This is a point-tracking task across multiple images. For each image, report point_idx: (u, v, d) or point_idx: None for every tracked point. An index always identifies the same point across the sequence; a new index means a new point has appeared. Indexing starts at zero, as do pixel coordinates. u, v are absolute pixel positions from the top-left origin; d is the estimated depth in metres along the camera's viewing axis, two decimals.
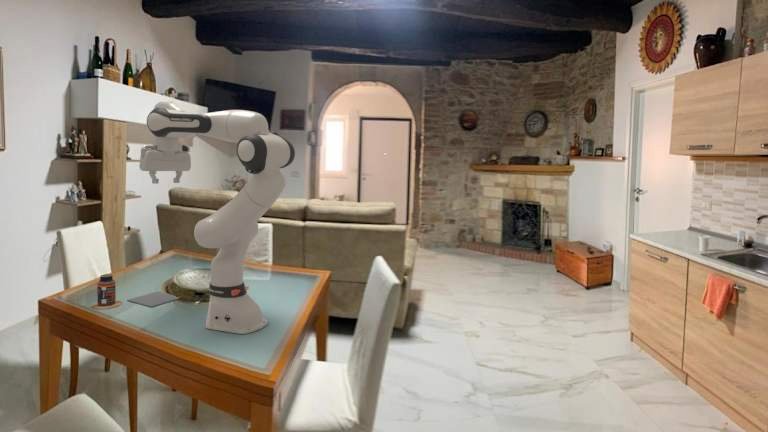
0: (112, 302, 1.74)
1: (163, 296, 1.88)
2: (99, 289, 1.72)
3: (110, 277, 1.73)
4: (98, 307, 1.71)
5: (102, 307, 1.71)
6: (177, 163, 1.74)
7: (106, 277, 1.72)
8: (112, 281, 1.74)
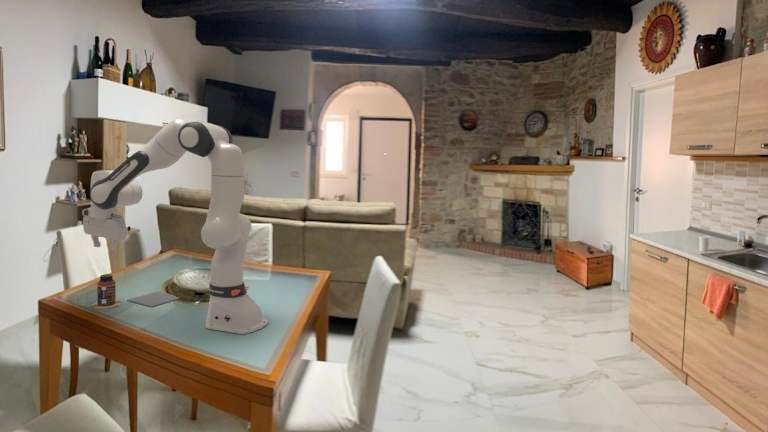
0: (112, 302, 1.74)
1: (163, 296, 1.88)
2: (99, 289, 1.72)
3: (110, 277, 1.73)
4: (98, 307, 1.71)
5: (102, 307, 1.71)
6: None
7: (106, 277, 1.72)
8: (112, 281, 1.74)
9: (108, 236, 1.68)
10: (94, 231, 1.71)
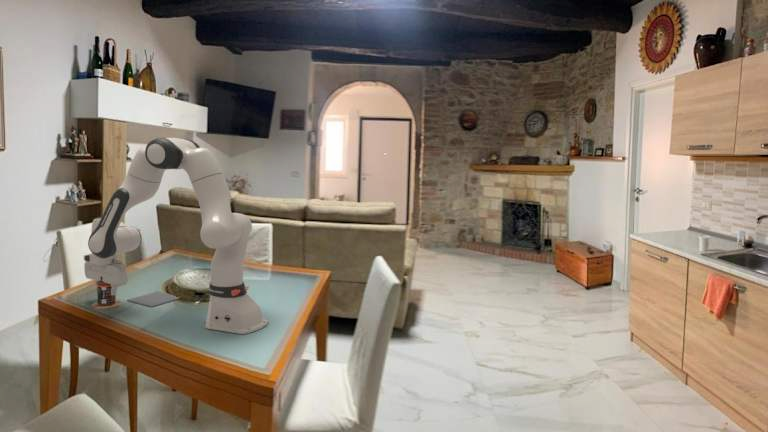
0: (112, 302, 1.74)
1: (163, 296, 1.88)
2: (99, 289, 1.72)
3: None
4: (98, 307, 1.71)
5: (102, 307, 1.71)
6: None
7: None
8: None
9: (109, 282, 1.70)
10: (95, 276, 1.74)
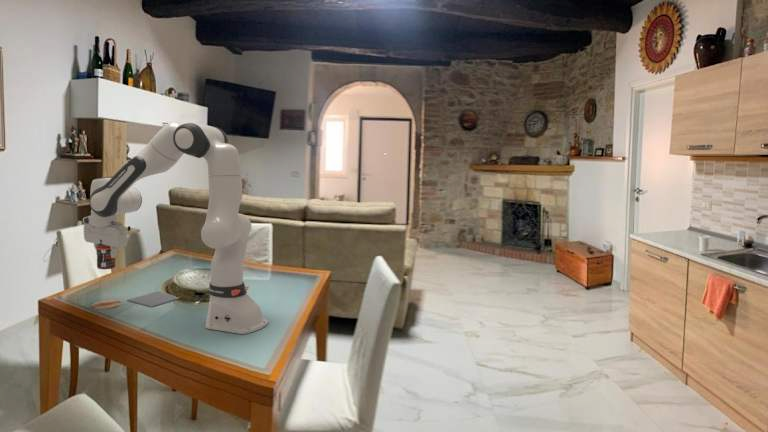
0: (112, 266, 1.72)
1: (163, 296, 1.88)
2: (99, 252, 1.70)
3: None
4: (98, 307, 1.71)
5: (102, 307, 1.71)
6: None
7: None
8: None
9: (109, 244, 1.69)
10: (95, 239, 1.72)
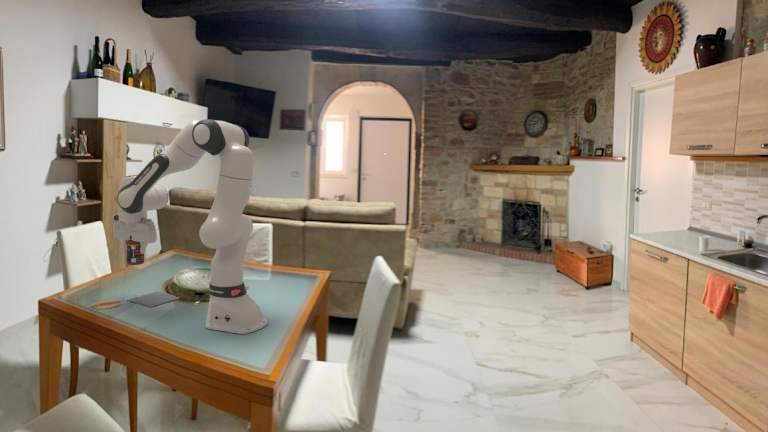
0: (141, 261, 1.77)
1: (163, 296, 1.88)
2: (129, 248, 1.75)
3: None
4: (98, 307, 1.71)
5: (102, 307, 1.71)
6: None
7: None
8: None
9: (139, 240, 1.73)
10: (124, 235, 1.76)
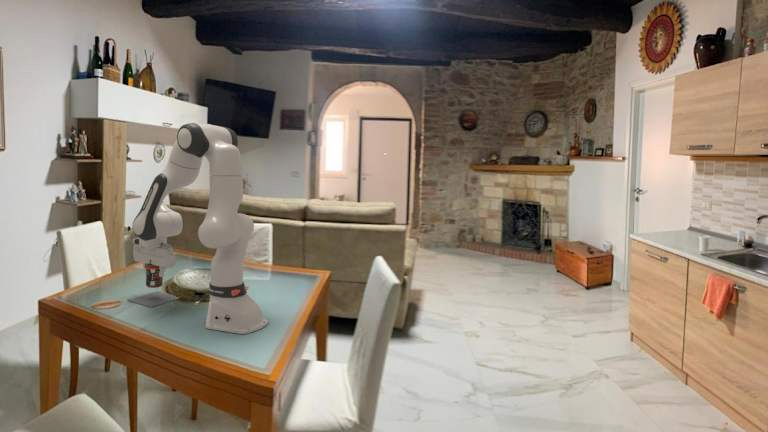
0: (160, 284, 1.82)
1: (163, 296, 1.88)
2: (148, 271, 1.80)
3: None
4: (98, 307, 1.71)
5: (102, 307, 1.71)
6: None
7: None
8: None
9: (158, 264, 1.79)
10: (144, 259, 1.82)
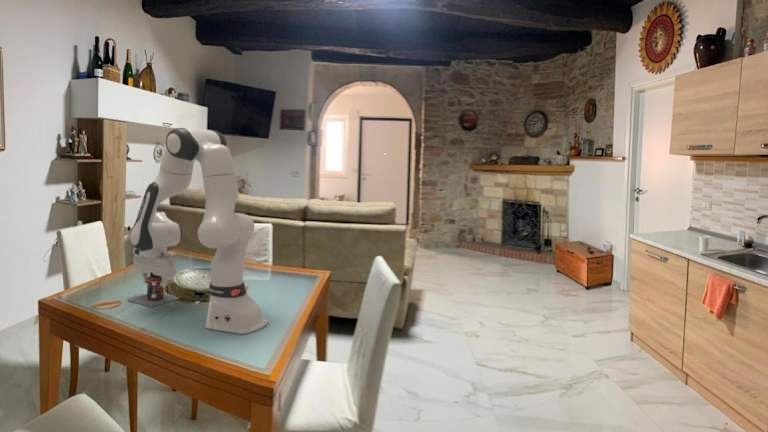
0: (161, 297, 1.83)
1: (163, 296, 1.88)
2: (149, 284, 1.80)
3: None
4: (98, 307, 1.71)
5: (102, 307, 1.71)
6: None
7: None
8: (161, 277, 1.83)
9: (158, 274, 1.79)
10: (144, 268, 1.82)
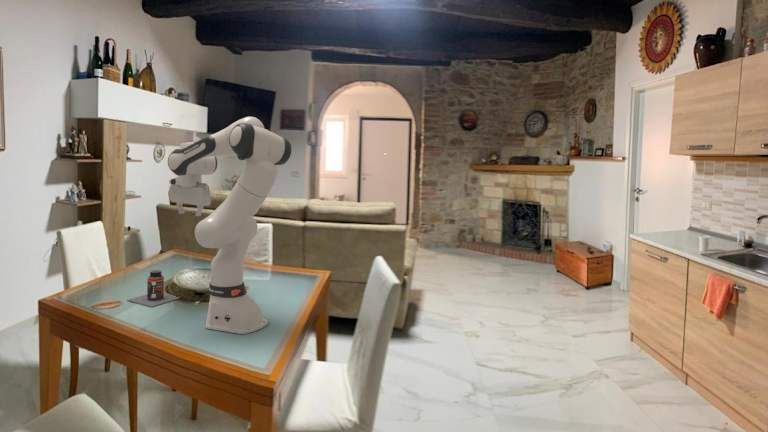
0: (161, 297, 1.83)
1: None
2: (149, 284, 1.81)
3: (159, 273, 1.82)
4: (98, 307, 1.71)
5: (102, 307, 1.71)
6: None
7: (156, 273, 1.81)
8: (161, 277, 1.83)
9: (194, 202, 1.85)
10: (180, 198, 1.88)
